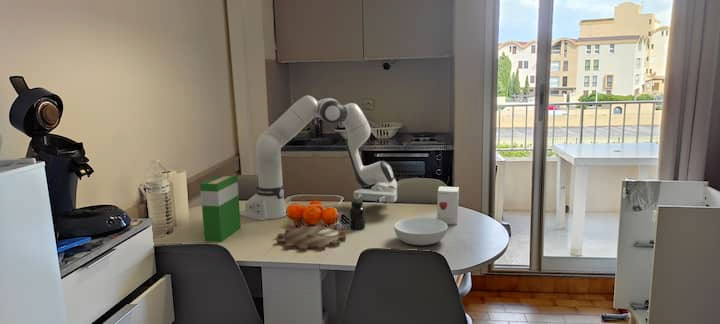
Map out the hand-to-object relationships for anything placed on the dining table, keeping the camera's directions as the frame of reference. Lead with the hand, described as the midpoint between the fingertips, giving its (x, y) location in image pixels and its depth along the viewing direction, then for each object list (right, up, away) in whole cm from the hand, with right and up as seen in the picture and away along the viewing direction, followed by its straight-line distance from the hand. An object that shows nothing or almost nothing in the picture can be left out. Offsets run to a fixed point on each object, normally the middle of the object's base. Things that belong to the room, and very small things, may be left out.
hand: (368, 199), depth 222 cm
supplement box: (+35, -10, -2) cm, 37 cm away
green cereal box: (-62, -14, -14) cm, 65 cm away
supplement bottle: (-5, -12, -10) cm, 16 cm away
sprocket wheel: (-24, -14, -22) cm, 35 cm away
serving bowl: (+20, -15, -27) cm, 37 cm away
